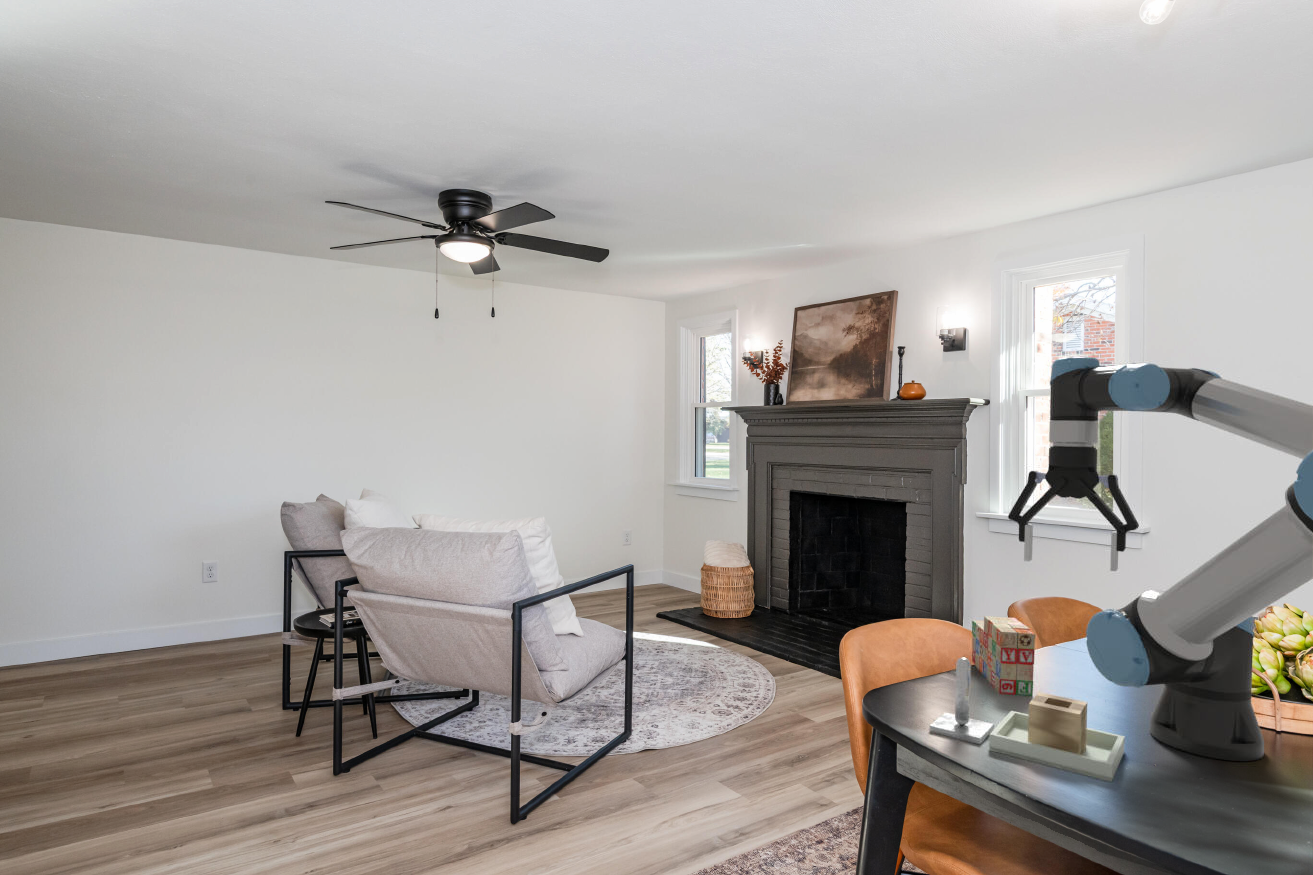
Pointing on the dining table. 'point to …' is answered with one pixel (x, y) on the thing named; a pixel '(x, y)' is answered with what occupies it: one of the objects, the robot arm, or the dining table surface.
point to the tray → (1093, 762)
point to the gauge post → (962, 712)
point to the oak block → (1058, 722)
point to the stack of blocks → (1004, 654)
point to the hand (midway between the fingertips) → (1069, 565)
